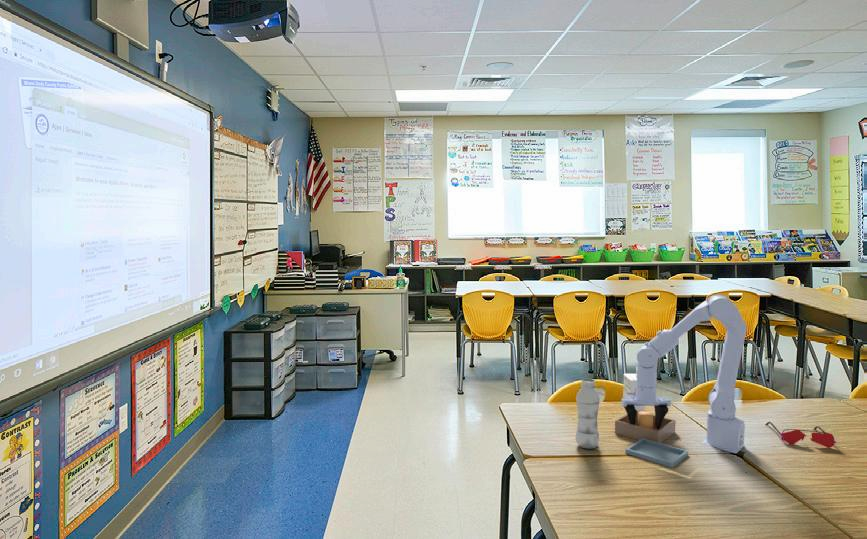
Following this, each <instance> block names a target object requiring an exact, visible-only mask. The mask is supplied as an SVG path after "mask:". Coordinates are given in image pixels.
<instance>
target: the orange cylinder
mask: <svg viewBox="0 0 867 539" xmlns="http://www.w3.org/2000/svg"><path fill="white" fill-rule="evenodd" d="M653 415H654V413H652V412H649V411H645V410H644V411H640V412H638V426H640V427H644V428H647V429H651V430H653Z"/></svg>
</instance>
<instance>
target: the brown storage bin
mask: <svg viewBox="0 0 867 539" xmlns="http://www.w3.org/2000/svg"><path fill="white" fill-rule="evenodd" d="M638 412H641V411H637V413H636V419H635V425H632V424H630V421H629V417H628V415H627V413H626V414H625V415H623V416H621V417H619V418H617V419H616V420H615V421H614V433H615V434H616V435H621V436H623V437H628V438H632V439H635V440H637V441H639V440H640V439H642V438H644V439H648V440H651V441H655V442H658V443H663V442H664V441H666V440H668V439H669V438H670V437H672V436H673V435H674V434H676V422H677V421H676V420H675V419H671V418H667V417H664V419H663V421H662V424H661V427H660V429H659V430H658V429H657V428H656V427H655V414H653V430H651V429H647V428H644V427H640V426H638Z"/></svg>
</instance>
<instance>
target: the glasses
mask: <svg viewBox="0 0 867 539" xmlns="http://www.w3.org/2000/svg"><path fill="white" fill-rule="evenodd" d="M769 424H770V425H771V426H772V428H774V430H775V431H776V432H777V433H778V434H779V435H780V436H781V440H783V441H784V442H785V443H787V444H789V445H796V443H798V442H799V441H802V442H803V440H804V439H805V437H807V435H806V434H805V433H804V432H808V429H807V430H805V429H796V428H795V429H794V428H786V429H783V431H782V432H780V431H779V430H778V429H777V427H776V426H775V425H774V423H772V422H771V421H768V422H767V423H765V425H764V426H768V425H769ZM817 429H819V430H820V431H816V430H817ZM789 430H790V431H789ZM785 431H786V432H785ZM809 432H810V434H811V437H809V439H810V441H811V442H813V443H816V444H819V445H820V446H823V447H825V448H828V447H831V448H832V447H834V446H835V444H836V443H837V441H836V440H835V437H834V435H833V434H832V433H830V432H825V430H823V429H822V428H821V427H820V426H819V425H818V426H815V427H813V430H809Z"/></svg>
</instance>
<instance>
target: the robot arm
mask: <svg viewBox="0 0 867 539" xmlns="http://www.w3.org/2000/svg"><path fill="white" fill-rule="evenodd" d="M711 317H712V318H714V319H716V321H718V322H720V323H721V324H722V325H723V327H725V329H726V332H725V337H724V343H723V347H722V351H721V357H720V362H719V368H718V372H717V377H716V381H714V385H713V389H712V390H711V391H710V393H709V394H708V396H707V398H708V403H709V404H710V408H709V410H707V416H706V417H707V418H706V438H705V439H704V440H703V441H701V444H703V445H707V446H710V447H715V448H718V450H721V451H725V452H728V453H732V454H738V453H739V452H740V451H741V450H742V449H743V448H744V447H745V429H746V427H745V426H746V424H745V421H744V420H743V419H739V418H738V417H736V411H737V407H736V404H735V397H736V396H735V395H736V394H735V393H736V389H735V388H736V382H737V377H738V373H739V367H740V365H741V364H740V363H741V358H742V354H743V348H744V344H745V340H746V339H745V338H746V334H747V329H748V328H747V324H746V323H745V320H744V318H743V316H742V315H741V312H740V311H739V309H738V307H737V306H736V305H735V304H734V303H733V302H732V301H731V300H730V299H728V297H726V296H724V295H723V294H714V295H712V296H710V297H709V298H708V299H707V300H704V301H703V302H701V303H700V304H699V305H697V306H695V307H694V309H693V310H691V311H690V312H689V313H687V315H686V316H685V317H683V318H682V319H681V320H680V321H679V322H678V323H676V324H675V325H674V326H673V327H672V328H671V329H667V328H666V329H663V330H662V331H661V330H658V331H657V332H656V335H655V336H654V337H653V338H651V340H649V342H648V341H646V342H645V343H644V345H643V346H640V348H638V350H637V353H636V360H637V364H636V366H637V368H638V369H637V382H636V397H632V398H623V397H622V398H621V400H620V401H621V402H620V403H621V404H620V405H621V406H622V407H623V408H624V410H625V412H626V414H627V415H628V417H629V421H630V424H632V425H635V419H636V413H637V410H636V409H635V407H634V406H644V407H646V406H653V407H654V415H655V427H656V428H657V429H658V430H659V429H660V427H661V424H662V421H663V419H664V418H666V415H667V414H668V413H669V407H671V405H672V402H671V401H672V400H671V399H670V398H668V397H667V398H665V397H657V381H658V380H657V379H658V378H657V375H658V373H657V364H658V361H659V358H663V357H664V356H665V355H666V354H668V353H669V352H671V350H673V349H674V348H676V347H677V346H679V339H680V338H681V337H682V336H683V335H685V333H687V332H688V331H690V330H691V329H692V328H694V327H695V326H697V325H698V324H699V323H700V322H711V321H713V320H712V318H711Z"/></svg>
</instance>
